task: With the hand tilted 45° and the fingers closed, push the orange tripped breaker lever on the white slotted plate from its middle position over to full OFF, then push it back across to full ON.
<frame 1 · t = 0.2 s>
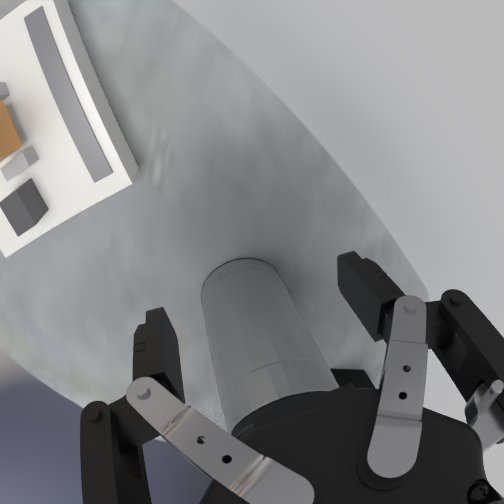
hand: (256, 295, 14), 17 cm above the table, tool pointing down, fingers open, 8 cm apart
white slotted plate: (34, 119, 21), on the table
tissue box: (335, 383, 50), on the table
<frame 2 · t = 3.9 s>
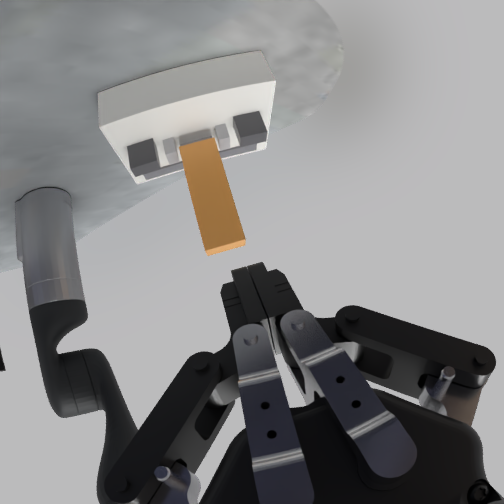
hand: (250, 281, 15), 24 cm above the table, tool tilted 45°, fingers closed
white slotted plate: (186, 105, 35), on the table
tripped breaker handle: (209, 190, 33), point 12 cm above the table, hinge at 0.0°
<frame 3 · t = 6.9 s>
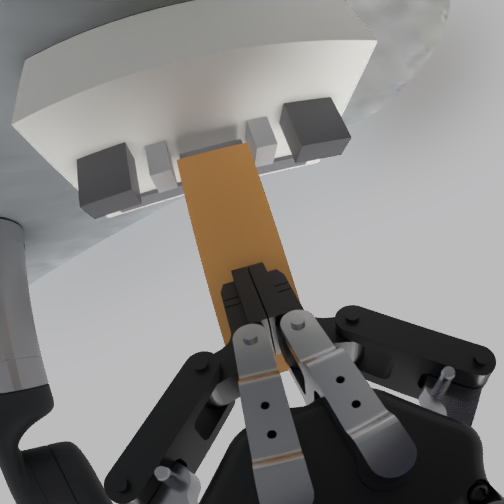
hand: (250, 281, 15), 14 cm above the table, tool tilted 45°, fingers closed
white slotted plate: (191, 83, 19), on the table
tripped breaker handle: (239, 251, 17), point 12 cm above the table, hinge at 0.1°, touching gripper
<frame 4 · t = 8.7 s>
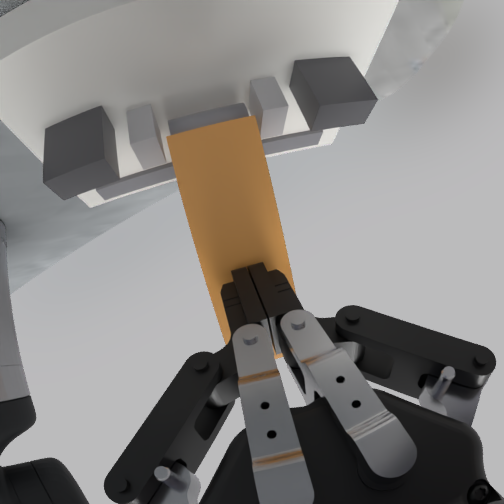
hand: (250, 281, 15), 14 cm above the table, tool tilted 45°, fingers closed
white slotted plate: (185, 48, 16), on the table
tripped breaker handle: (237, 239, 16), point 11 cm above the table, hinge at 28.3°, touching gripper
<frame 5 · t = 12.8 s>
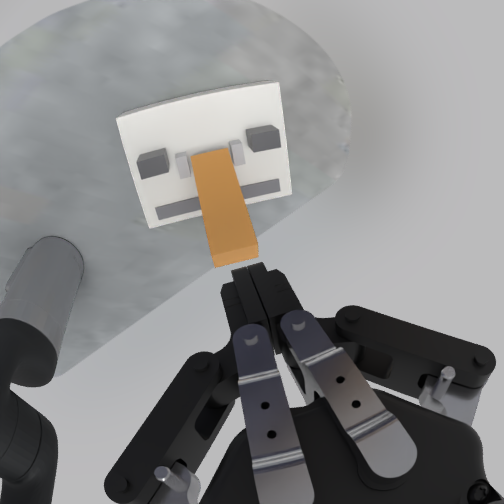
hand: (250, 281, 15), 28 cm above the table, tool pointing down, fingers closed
white slotted plate: (205, 145, 39), on the table
tripped breaker handle: (220, 198, 31), point 11 cm above the table, hinge at 28.4°
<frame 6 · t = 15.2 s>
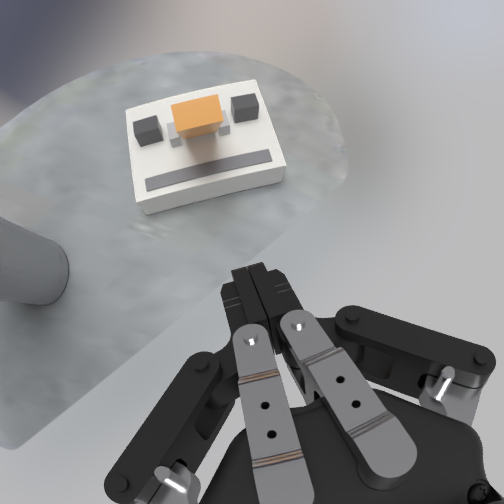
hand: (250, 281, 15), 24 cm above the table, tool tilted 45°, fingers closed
white slotted plate: (203, 151, 42), on the table
tripped breaker handle: (197, 121, 30), point 11 cm above the table, hinge at 28.4°
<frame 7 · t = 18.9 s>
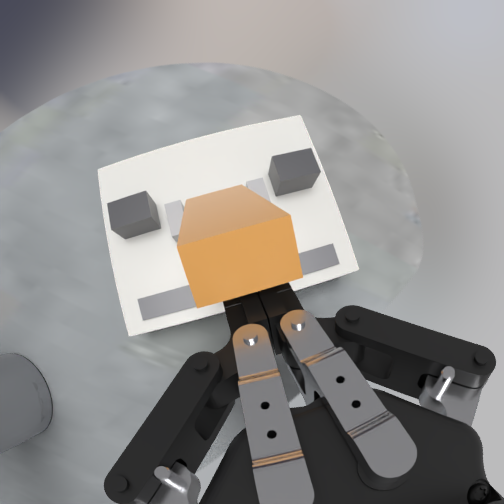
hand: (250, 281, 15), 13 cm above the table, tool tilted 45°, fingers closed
white slotted plate: (222, 230, 29), on the table
tripped breaker handle: (225, 224, 17), point 11 cm above the table, hinge at 28.4°, touching gripper
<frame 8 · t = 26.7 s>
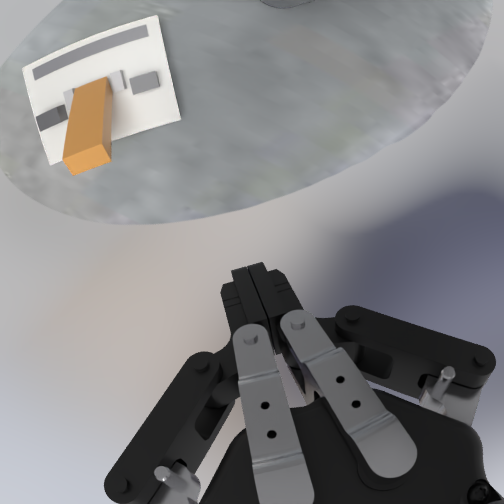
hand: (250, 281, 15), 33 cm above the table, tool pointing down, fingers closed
white slotted plate: (104, 87, 35), on the table
tripped breaker handle: (90, 117, 27), point 11 cm above the table, hinge at -31.4°
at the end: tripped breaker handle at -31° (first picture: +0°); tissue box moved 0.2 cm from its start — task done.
